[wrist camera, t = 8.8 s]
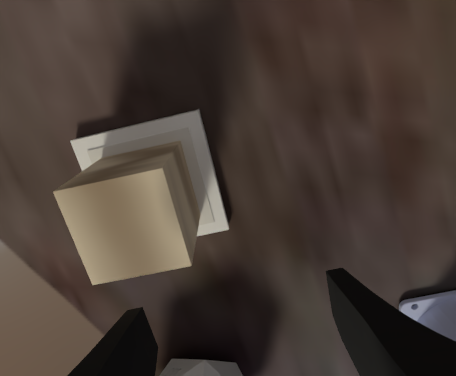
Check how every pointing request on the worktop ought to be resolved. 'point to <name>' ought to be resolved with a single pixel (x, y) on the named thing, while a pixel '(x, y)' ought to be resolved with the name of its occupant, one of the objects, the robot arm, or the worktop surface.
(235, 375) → the die
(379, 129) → the worktop surface
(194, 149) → the tray
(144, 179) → the maple block
